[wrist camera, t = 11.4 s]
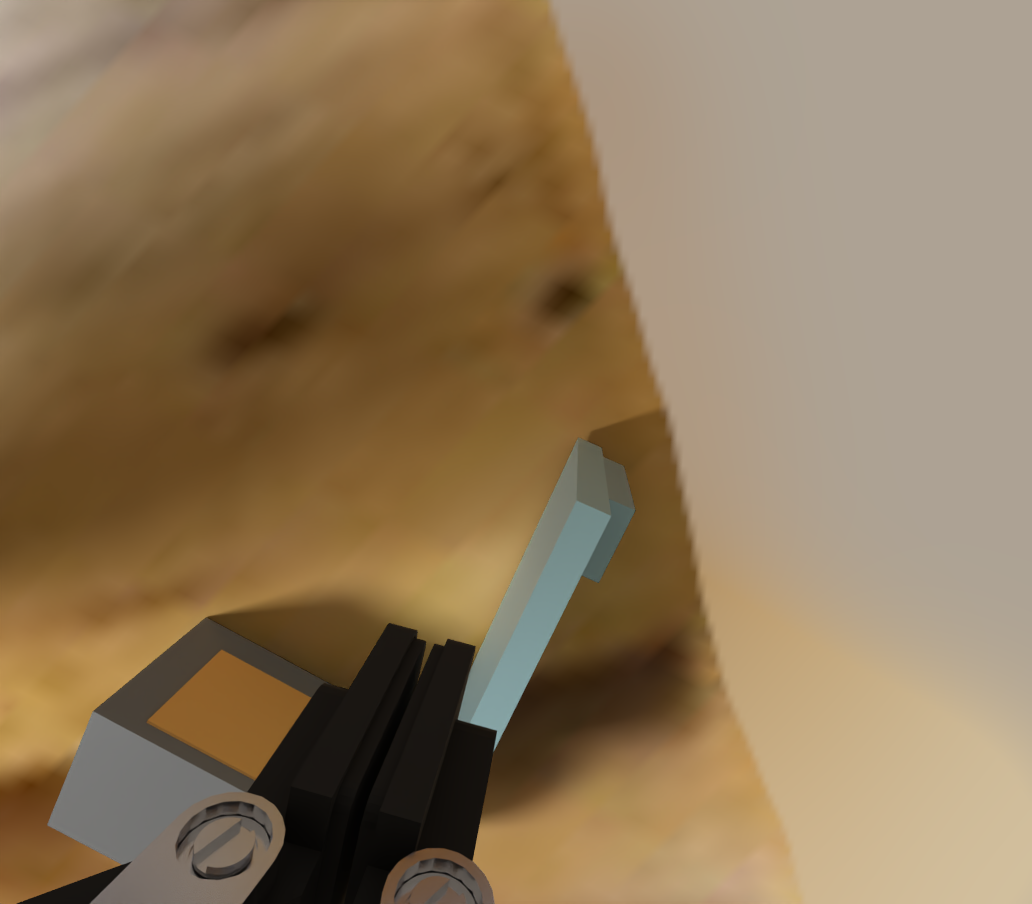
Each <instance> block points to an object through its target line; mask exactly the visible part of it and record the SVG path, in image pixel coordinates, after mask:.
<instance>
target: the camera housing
mask: <svg viewBox="0 0 1032 904" xmlns="http://www.w3.org/2000/svg"><path fill="white" fill-rule="evenodd" d="M324 683H326V684H329V683H327V682H325V681H323V680H322V679H320V678H318V677H316V676H314V675H312V674H310V673H309V672H307V671H305V670H303V669H301V668H299V667H297V666H296V665H294V664H292V663H290V662H288V661H286V660H284V659H283V658H281V657H279V656H277V655H275V654H273V653H271V652H270V651H268V650H266V649H264V648H262V647H260V646H258V645H257V644H255V643H253V642H251V641H249V640H247V639H245V638H244V637H242V636H240V635H238V634H236V633H234V632H233V631H231V630H229V629H227V628H225V627H223V626H221V625H220V624H218V623H216V622H214V621H212V620H210V619H208V618H207V617H206V618H205V619H204V620H202V621H201V622H200V623H199V624H198V625H196V626H195V627H194V628H193V629H192V630H190V631H189V632H188V633H187V634H186V635H184V636H183V637H182V638H181V639H179V640H178V641H177V642H176V643H175V644H173V645H172V646H171V647H170V648H169V649H167V650H166V651H165V652H164V653H163V654H161V655H160V656H159V657H158V658H157V659H155V660H154V661H153V662H152V663H151V664H149V665H148V666H147V667H146V668H145V669H143V670H142V671H141V672H140V673H139V674H137V675H136V676H135V677H134V678H133V679H131V680H130V681H129V682H128V683H126V684H125V685H124V686H123V687H122V688H120V689H119V690H118V691H117V692H116V693H114V694H113V695H112V696H111V697H110V698H108V699H107V700H106V701H105V702H104V703H102V704H101V705H100V706H99V707H98V708H96V709H95V710H94V711H93V713H92V715H91V718H90V720H89V723H88V725H87V728H86V730H85V732H84V735H83V737H82V740H81V742H80V745H79V747H78V750H77V752H76V755H75V757H74V760H73V762H72V765H71V767H70V770H69V772H68V775H67V777H66V780H65V782H64V785H63V787H62V790H61V792H60V795H59V797H58V800H57V802H56V805H55V807H54V810H53V812H52V815H51V817H50V820H49V822H48V826H50V827H52V828H54V829H56V830H58V831H59V832H61V833H63V834H65V835H67V836H69V837H71V838H73V839H75V840H76V841H78V842H80V843H82V844H84V845H86V846H88V847H90V848H92V849H94V850H95V851H97V852H99V853H101V854H103V855H105V856H107V857H109V858H111V859H112V860H114V861H116V862H118V863H120V864H122V865H123V864H126V863H129V862H131V861H133V860H134V859H135V858H136V857H137V856H138V855H139V854H140V853H141V852H142V851H143V850H144V849H145V848H146V847H147V846H148V845H149V844H150V843H151V842H152V841H154V840H155V839H156V838H157V837H158V836H159V835H160V834H161V833H162V832H163V831H164V830H165V829H166V828H167V827H168V826H169V825H170V824H171V823H172V822H173V821H174V820H175V819H176V818H177V817H178V816H179V815H180V814H181V813H183V812H184V811H185V810H187V809H188V808H189V807H191V806H192V805H193V804H195V803H197V802H199V801H201V800H204V799H206V798H208V797H210V796H214V795H218V794H223V793H227V792H247V791H248V790H249V789H250V787H251V786H252V784H253V783H254V781H255V780H256V778H257V777H258V775H259V774H260V772H261V771H262V770H263V768H264V767H265V765H266V764H267V762H268V761H269V759H270V758H271V756H272V755H273V753H274V752H275V751H276V749H277V748H278V746H279V745H280V743H281V742H282V740H283V739H284V737H285V736H286V734H287V733H288V731H289V730H290V729H291V727H292V726H293V724H294V723H295V721H296V720H297V718H298V717H299V715H300V714H301V712H302V711H303V710H304V708H305V707H306V705H307V704H308V702H309V701H310V699H311V698H312V696H313V695H314V693H315V692H316V690H317V689H318V688H319V687H320V686H321V685H322V684H324ZM330 685H331V684H330Z"/></svg>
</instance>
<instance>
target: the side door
mask: <svg viewBox="0 0 1032 904" xmlns="http://www.w3.org/2000/svg"><path fill="white" fill-rule="evenodd" d="M635 511H636V510H635V506H634V503H633V499H632V495H631V491H630V487H629V483H628V480H627V476H626V472H625V468H624V466H623V465H621V464H618V463H616V462H614V461H612V460H609V459H607V458H605V457H603V453H602V448H601V447H599V446H597V445H594V444H592V443H590V442H588V441H585V440H583V439H581V438H579V437H578V439H577V441H576V443H575V445H574V448H573V450H572V452H571V454H570V456H569V458H568V460H567V463H566V465H565V467H564V469H563V471H562V473H561V476H560V478H559V480H558V482H557V484H556V486H555V488H554V491H553V493H552V495H551V497H550V499H549V501H548V503H547V506H546V508H545V510H544V512H543V514H542V516H541V519H540V521H539V523H538V525H537V527H536V529H535V531H534V534H533V536H532V538H531V540H530V542H529V544H528V547H527V549H526V551H525V553H524V555H523V557H522V559H521V562H520V564H519V566H518V568H517V570H516V572H515V574H514V577H513V579H512V581H511V583H510V585H509V587H508V590H507V592H506V594H505V596H504V598H503V600H502V602H501V605H500V607H499V609H498V611H497V613H496V615H495V618H494V620H493V622H492V624H491V626H490V628H489V630H488V633H487V635H486V637H485V639H484V641H483V643H482V645H481V648H480V650H479V652H478V654H477V656H476V658H475V661H474V663H473V665H472V667H471V669H470V672H469V676H468V680H467V684H466V688H465V692H464V696H463V700H462V704H461V708H460V712H459V716H458V720H461V721H464V722H468V723H471V724H475V725H479V726H482V727H486V728H490V729H493V730H497V735H496V741H495V746H494V750H495V748H496V746H497V744H498V742H499V740H500V738H501V736H502V734H503V732H504V730H505V728H506V726H507V724H508V722H509V720H510V718H511V716H512V714H513V712H514V710H515V708H516V706H517V704H518V702H519V700H520V698H521V696H522V694H523V692H524V690H525V688H526V686H527V684H528V682H529V680H530V678H531V676H532V674H533V672H534V670H535V668H536V666H537V664H538V662H539V660H540V658H541V656H542V654H543V652H544V650H545V648H546V646H547V644H548V642H549V640H550V638H551V636H552V634H553V632H554V630H555V628H556V626H557V624H558V622H559V620H560V618H561V616H562V614H563V612H564V610H565V608H566V606H567V604H568V602H569V600H570V598H571V596H572V594H573V592H574V590H575V588H576V586H577V584H578V582H579V580H580V578H581V576H584V577H586V578H588V579H591V580H593V581H595V582H597V583H599V581H600V579H601V577H602V575H603V573H604V571H605V569H606V568H607V566H608V564H609V562H610V560H611V558H612V556H613V554H614V552H615V550H616V548H617V546H618V544H619V542H620V540H621V538H622V536H623V534H624V532H625V530H626V528H627V526H628V524H629V522H630V520H631V518H632V517H633V515H634V513H635ZM493 752H494V751H493Z"/></svg>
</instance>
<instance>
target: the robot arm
mask: <svg viewBox="0 0 1032 904" xmlns="http://www.w3.org/2000/svg"><path fill="white" fill-rule="evenodd" d="M417 633H418V632H417V630H413V629H410V628H406V627H402V626H399V625H395V624H391V623H389V624H388V625H387V626H386V628H385V630H384V631H383V633H382V635H381V636H380V638H379V640H378V641H377V643H376V645H375V646H374V648H373V650H372V651H371V653H370V655H369V656H368V658H367V660H366V661H365V663H364V665H363V666H362V668H361V670H360V671H359V673H358V675H357V676H356V678H355V680H354V681H353V683H352V685H351V686H350V688H349V690H348V689H345V688H341V687H337V686H334V685H330V684H326V683H324V684H322V685H321V686H320V687H319V688H318V689H317V690H316V692H315V693H314V695H313V696H312V698H311V699H310V701H309V702H308V704H307V705H306V707H305V708H304V710H303V711H302V712H301V714H300V715H299V717H298V718H297V720H296V721H295V723H294V724H293V726H292V727H291V729H290V730H289V731H288V733H287V734H286V736H285V737H284V739H283V740H282V742H281V743H280V745H279V746H278V748H277V749H276V751H275V752H274V753H273V755H272V756H271V758H270V759H269V761H268V762H267V764H266V765H265V767H264V768H263V770H262V771H261V772H260V774H259V775H258V777H257V778H256V780H255V781H254V783H253V784H252V786H251V787H250V789H249V790H248V791H247V792H227V793H223V794H218V795H214V796H210V797H208V798H206V799H204V800H201V801H199V802H197V803H195V804H193V805H192V806H191V807H189V808H188V809H187V810H185V811H184V812H183V813H181V814H180V815H179V816H178V817H177V818H176V819H175V820H174V821H173V822H172V823H171V824H170V825H169V826H168V827H167V828H166V829H165V830H164V831H163V832H162V833H161V834H160V835H159V836H158V837H157V838H156V839H155V840H154V841H152V842H151V843H150V844H149V845H148V846H147V847H146V848H145V849H144V850H143V851H142V852H141V853H140V854H139V855H138V856H137V857H136V858H135V859H134V860H133V861H131V862H129V863H126V864H123V865H120V866H118V867H115V868H112V869H109V870H107V871H104V872H101V873H99V874H96V875H93V876H90V877H88V878H85V879H82V880H80V881H77V882H74V883H71V884H69V885H66V886H63V887H61V888H58V889H55V890H52V891H50V892H47V893H44V894H42V895H39V896H36V897H33V898H31V899H28V900H25V901H23V902H20V903H17V904H494V898H493V892H492V888H491V886H490V884H489V882H488V880H487V878H486V876H485V874H484V873H483V872H482V871H481V870H480V869H479V868H478V867H477V865H476V864H475V863H474V862H473V861H472V860H473V855H474V850H475V845H476V840H477V834H478V829H479V824H480V819H481V814H482V808H483V803H484V798H485V793H486V788H487V782H488V777H489V772H490V767H491V762H492V756H493V751H494V746H495V741H496V735H497V730H493V729H490V728H486V727H482V726H479V725H475V724H471V723H468V722H464V721H461V720H458V716H459V712H460V708H461V704H462V700H463V696H464V692H465V688H466V684H467V680H468V676H469V672H470V668H471V664H472V660H473V656H474V652H475V647H476V646H473V645H469V644H465V643H461V642H458V641H454V640H450V639H447V642H446V644H445V646H442V645H438V644H434V646H433V648H432V650H431V653H430V655H429V657H428V660H427V662H426V664H425V667H424V669H423V671H422V674H421V676H420V678H419V674H420V669H421V665H422V660H423V656H424V651H425V646H426V641H423V640H419V639H417ZM418 678H419V681H418ZM417 682H418V683H417Z"/></svg>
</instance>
